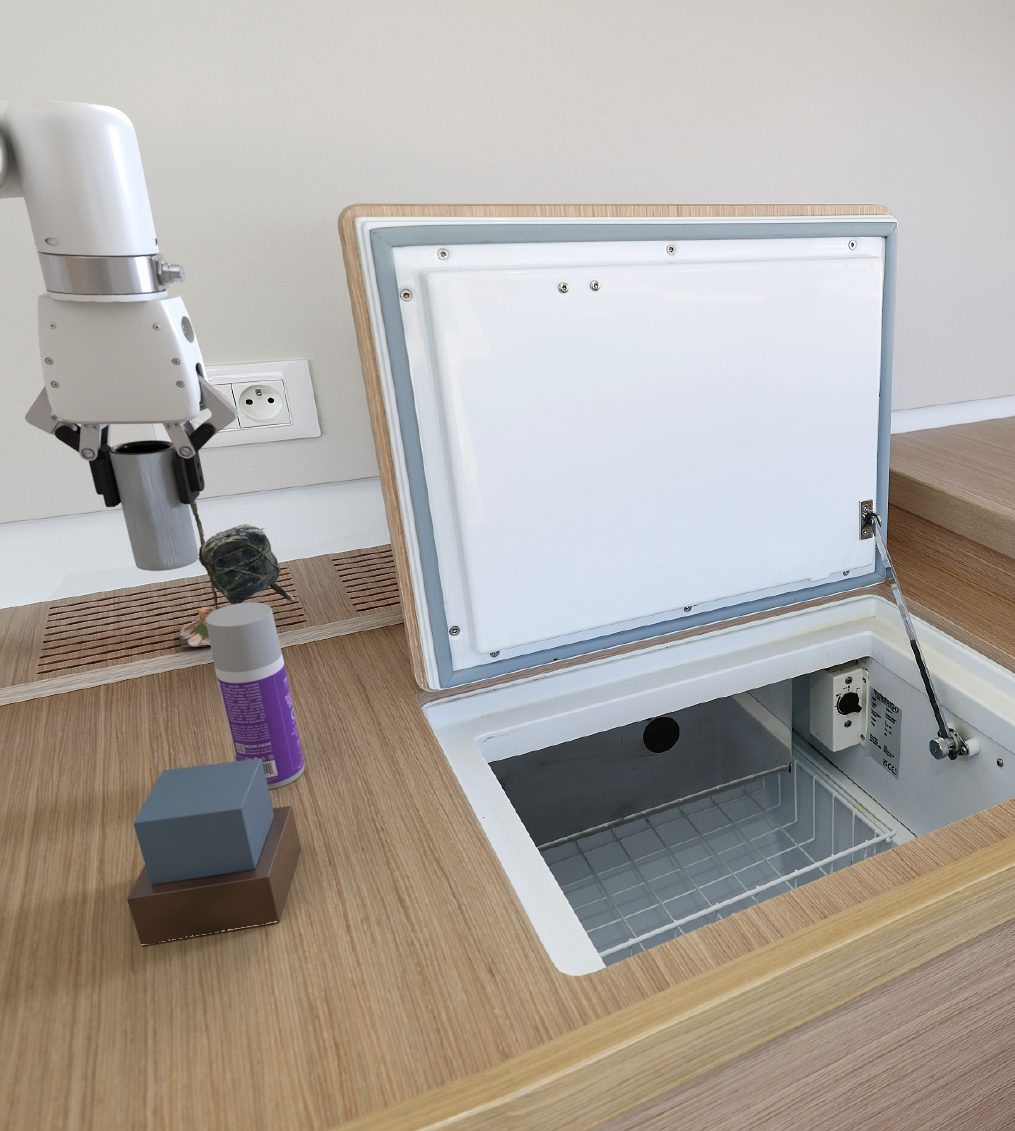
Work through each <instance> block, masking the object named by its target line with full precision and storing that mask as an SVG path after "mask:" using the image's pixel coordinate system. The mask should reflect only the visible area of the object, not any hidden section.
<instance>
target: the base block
mask: <svg viewBox="0 0 1015 1131" xmlns="http://www.w3.org/2000/svg"><path fill="white" fill-rule="evenodd" d="M272 808H273V813H274V817H273V820H272V823H271V826H270V828H269V831H268V834H267V837H266V840H265V843H264V845H263V848H262V851H261V854H260V857H259V859H258V862H257V865H256V868H255V869H253V870H247V871H240V872H233V873H227V874H220V875H214V876H207V877H201V878H194V879H188V880H181V881H175V882H168V883H162V884H155V885H151V883H150V880H149V876H148V873H147V869H146V866H145V864H144V865H143V867H142V869H141V870H140V873H139V875H138V877H137V879H136V881H134V882H135V883H134V884H133V887H132V888H131V890H130V893H129V894H128V896H127V897H126V900H127V904H128V906H129V910H130V914H131V916H132V920H133V923H134V927H135V930H136V933H137V937H138V941H139V943H140V945H141V944H152V945H154V944H153V943H158V944H160V943H159V942H162V941H168V940H169V939H170V940H172V939H179V938H185V937H186V936H187V937H190V936H192V935H193V936H196V935H202V934H209V933H215V932H218V931H219V932H221V931H222V930H225V931H227V930H228V929H235V928H241V927H247V926H253V925H262V924H266V923H269V922H274V921H278V920H279V919H280V920H281V918H280V915H281V916H282V914H283V911H282V909H283V910H284V908H283V906H284V907H285V904H286V901H285V899H286V900H287V898H288V893H289V890H290V887H291V884H292V880H293V877H294V873H295V870H296V867H297V865H298V864H297V863H298V861H299V856H300V854H301V850H302V847H301V841H300V837H299V832H298V827H297V823H296V817H295V813H294V808H293V806H292V805H287V806H279V807H272ZM284 903H285V904H284ZM281 913H282V914H281Z"/></svg>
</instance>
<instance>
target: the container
mask: <svg viewBox="0 0 1015 1131" xmlns="http://www.w3.org/2000/svg"><path fill="white" fill-rule="evenodd" d="M225 606H226V607H222V608H220V609H217V610H215V611H213V612H211V613H210V614H209V615H208V616H207V617H206V624H207V630H208V635H209V640H210V645H209V646H210V650H211V655H212V660H213V665H214V670H215V675H216V681H217V685H218V689H219V694H220V697H221V702H222V706H223V710H224V714H225V715H224V716H225V719H226V723H227V727H228V732H229V737H230V741H231V745H232V748H233V753H234V758H235V761H243V760H251V759H260V758H261V759H262V762H263V766H264V771H265V776H266V780H267V785H268V790H269V791H270V790H274V789H278V788H282V787H284V786H287V785H290V784H291V783H294V781H296V780H297V779H299V778H300V777H301V776H302V775H303V774H304V771H305V769H306V768H305V761H304V760H305V759H304V756H303V755H304V754H303V751H302V745H301V740H300V734H299V730H298V726H297V720H296V715H295V710H294V709H295V708H294V704H293V700H292V695H291V689H290V685H289V679H288V674H287V670H286V669H287V668H286V664H285V660H284V656H283V652H282V648H281V642H280V639H279V635H278V631H277V626H276V622H275V618H274V613H273V609H272V607H271V605H268V604H266V603H262V602H242V603H239V604H234V605H231V604H230V605H225Z"/></svg>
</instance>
